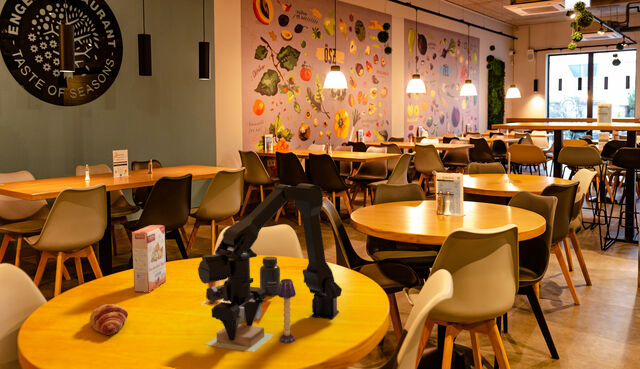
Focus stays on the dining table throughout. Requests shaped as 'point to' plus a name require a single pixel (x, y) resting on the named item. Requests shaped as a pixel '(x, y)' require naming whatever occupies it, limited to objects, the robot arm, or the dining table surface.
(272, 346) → the dining table surface
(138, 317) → the dining table surface
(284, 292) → the toy lamp
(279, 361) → the dining table surface
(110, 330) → the croissant
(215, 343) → the mat
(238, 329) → the brown flat block
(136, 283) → the cracker box
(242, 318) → the bowl
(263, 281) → the supplement bottle
